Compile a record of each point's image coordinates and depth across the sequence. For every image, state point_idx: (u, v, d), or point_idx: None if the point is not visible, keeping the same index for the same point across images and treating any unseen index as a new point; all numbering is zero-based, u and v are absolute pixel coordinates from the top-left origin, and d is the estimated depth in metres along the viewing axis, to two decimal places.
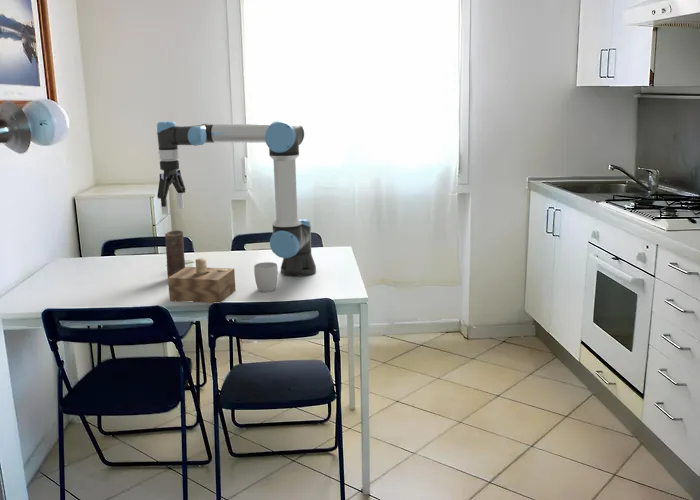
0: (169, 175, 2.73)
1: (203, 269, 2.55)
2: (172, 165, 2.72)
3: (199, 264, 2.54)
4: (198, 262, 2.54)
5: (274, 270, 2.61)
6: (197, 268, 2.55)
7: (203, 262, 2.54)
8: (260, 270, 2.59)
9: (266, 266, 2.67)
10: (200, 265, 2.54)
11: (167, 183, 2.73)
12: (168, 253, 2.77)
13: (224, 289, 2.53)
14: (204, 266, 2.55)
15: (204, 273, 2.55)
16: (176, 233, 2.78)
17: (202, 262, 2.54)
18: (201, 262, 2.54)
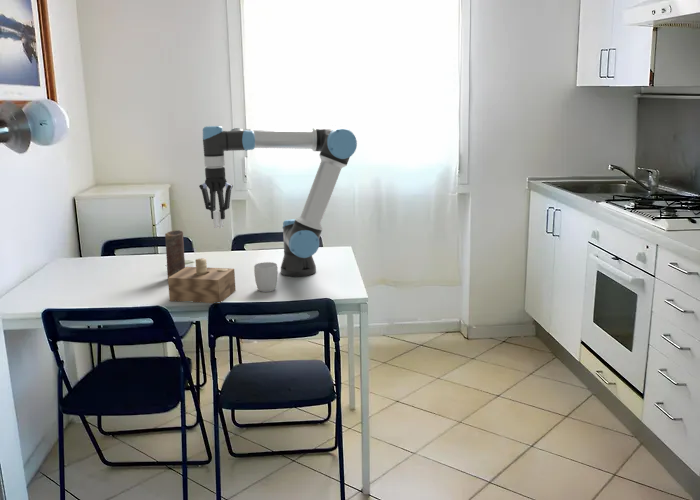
0: (207, 182, 2.59)
1: (203, 269, 2.55)
2: (205, 172, 2.57)
3: (199, 264, 2.54)
4: (198, 262, 2.54)
5: (274, 270, 2.61)
6: (197, 268, 2.55)
7: (203, 262, 2.54)
8: (260, 270, 2.59)
9: (266, 266, 2.67)
10: (200, 265, 2.54)
11: None
12: (168, 253, 2.78)
13: (224, 289, 2.53)
14: (204, 266, 2.55)
15: (204, 273, 2.55)
16: (176, 233, 2.78)
17: (202, 262, 2.54)
18: (201, 262, 2.54)
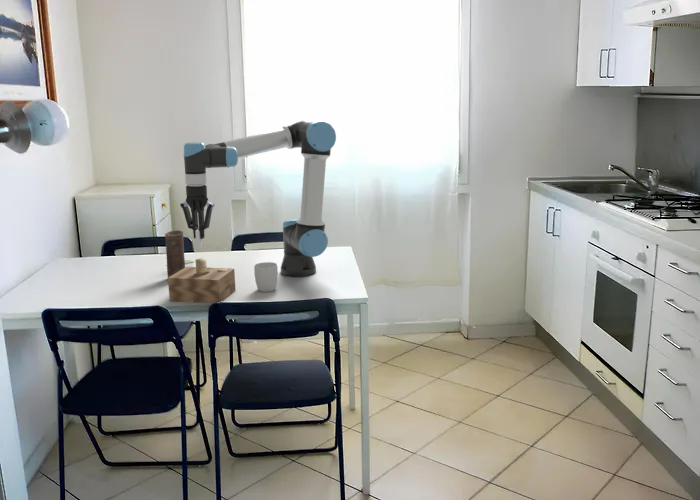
0: (188, 201, 2.50)
1: (203, 269, 2.55)
2: (186, 190, 2.48)
3: (199, 264, 2.54)
4: (198, 262, 2.54)
5: (274, 270, 2.61)
6: (197, 268, 2.55)
7: (203, 262, 2.54)
8: (260, 270, 2.59)
9: (266, 266, 2.67)
10: (200, 265, 2.54)
11: None
12: (168, 253, 2.77)
13: (224, 289, 2.53)
14: (204, 266, 2.55)
15: (204, 273, 2.55)
16: (176, 233, 2.78)
17: (202, 262, 2.54)
18: (201, 262, 2.54)
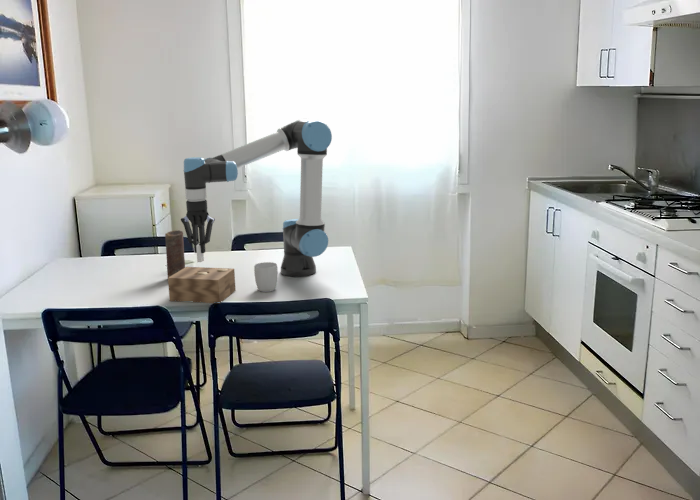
0: (189, 215, 2.51)
1: None
2: (186, 205, 2.48)
3: None
4: None
5: (274, 270, 2.61)
6: None
7: None
8: (260, 270, 2.59)
9: (266, 266, 2.67)
10: None
11: None
12: (168, 253, 2.77)
13: (224, 289, 2.53)
14: None
15: None
16: (176, 233, 2.78)
17: None
18: None
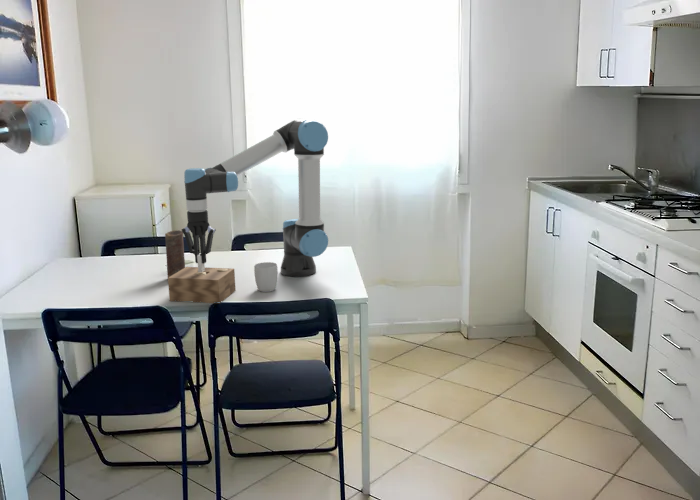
0: (189, 226, 2.52)
1: None
2: (187, 216, 2.49)
3: None
4: None
5: (274, 270, 2.61)
6: None
7: None
8: (260, 270, 2.59)
9: (266, 266, 2.67)
10: None
11: (187, 234, 2.53)
12: (168, 253, 2.77)
13: (224, 289, 2.53)
14: None
15: None
16: (176, 233, 2.78)
17: None
18: None
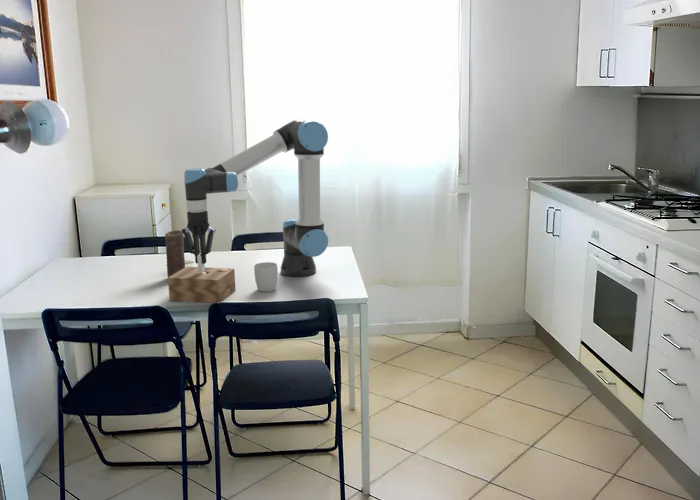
0: (189, 226, 2.52)
1: None
2: (187, 216, 2.49)
3: None
4: None
5: (274, 270, 2.61)
6: None
7: None
8: (260, 270, 2.59)
9: (266, 266, 2.67)
10: None
11: (187, 234, 2.53)
12: (168, 253, 2.77)
13: (224, 289, 2.53)
14: None
15: None
16: (176, 233, 2.78)
17: None
18: None
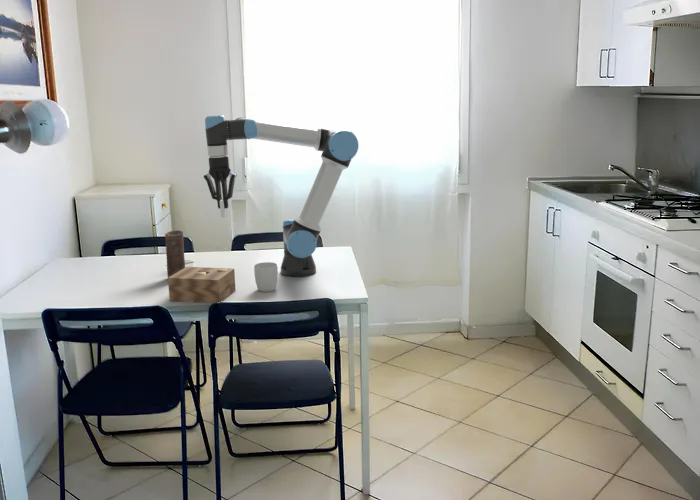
0: (211, 172, 2.60)
1: None
2: (209, 162, 2.58)
3: None
4: None
5: (274, 270, 2.61)
6: None
7: None
8: (260, 270, 2.59)
9: (266, 266, 2.67)
10: None
11: (209, 180, 2.62)
12: (168, 253, 2.77)
13: (224, 289, 2.53)
14: None
15: None
16: (176, 233, 2.78)
17: None
18: None
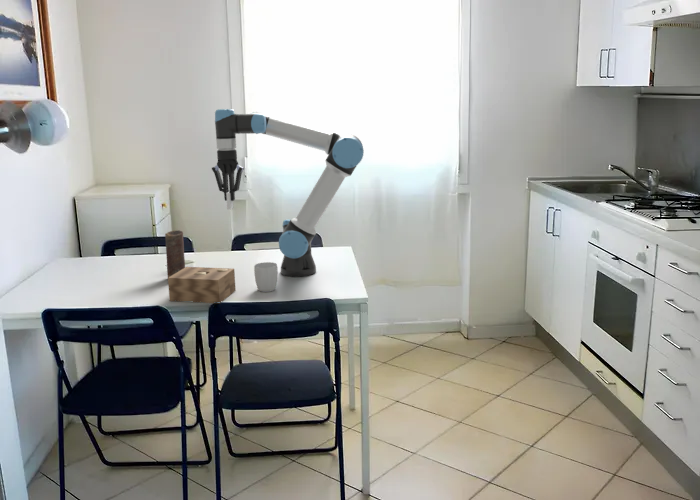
0: (219, 164, 2.65)
1: None
2: (217, 154, 2.63)
3: None
4: None
5: (274, 270, 2.61)
6: None
7: None
8: (260, 270, 2.59)
9: (266, 266, 2.67)
10: None
11: None
12: (168, 253, 2.77)
13: (224, 289, 2.53)
14: None
15: None
16: (176, 233, 2.78)
17: None
18: None
